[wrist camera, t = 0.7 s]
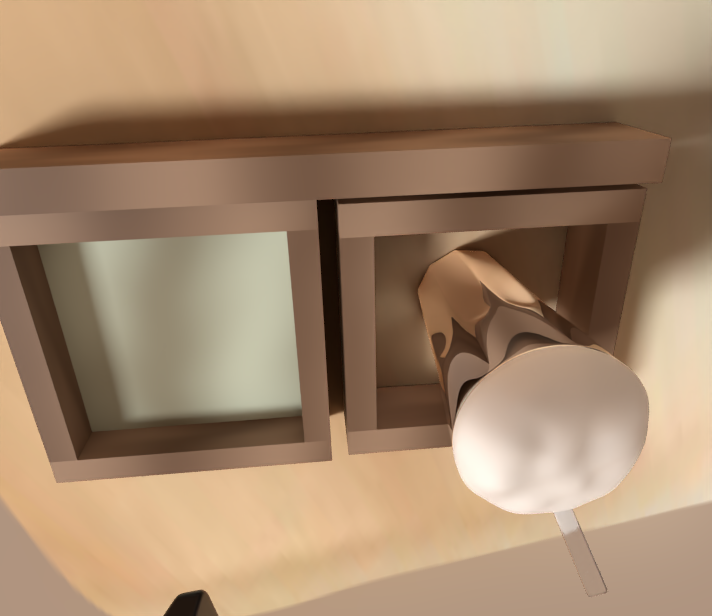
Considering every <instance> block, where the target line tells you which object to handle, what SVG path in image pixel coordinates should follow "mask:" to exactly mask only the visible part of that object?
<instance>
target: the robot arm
mask: <svg viewBox="0 0 712 616" xmlns="http://www.w3.org/2000/svg"><path fill="white" fill-rule="evenodd" d="M164 616H218V614H217V612H216V610H215V608H214V606H213V603H212V601H211V599H210V597H209V595H208V594H207V592H206V591H204V590H197V591H191V592H186V593H182V594H180V595H178V596H177V597H176V598H175V599H174V601H173V602H172V604H171V605H170V607H169V608H168V610H167V611H166V613H165V614H164Z"/></svg>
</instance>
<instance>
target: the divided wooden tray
mask: <svg viewBox="0 0 712 616" xmlns="http://www.w3.org/2000/svg"><path fill="white" fill-rule="evenodd" d="M671 140H672V138H669V137H665V136H662V135H658V134H655V133H652V132H648V131H645V130H642V129H638V128H635V127H631V126H628V125H625V124H621V123H618V122H607V123H584V124H561V125H538V126H514V127H491V128H468V129H445V130H422V131H398V132H375V133H352V134H329V135H306V136H282V137H259V138H236V139H213V140H190V141H166V142H143V143H120V144H97V145H74V146H50V147H27V148H4V149H0V321H1V324H2V326H3V329H4V332H5V335H6V338H7V341H8V344H9V347H10V350H11V352H12V355H13V358H14V361H15V364H16V367H17V370H18V373H19V375H20V378H21V381H22V384H23V387H24V390H25V393H26V396H27V399H28V401H29V404H30V407H31V410H32V413H33V416H34V419H35V422H36V424H37V427H38V430H39V433H40V436H41V439H42V442H43V445H44V448H45V450H46V453H47V456H48V459H49V462H50V465H51V468H52V471H53V473H54V476H55V479H56V482H57V483H63V482H75V481H87V480H99V479H112V478H124V477H136V476H149V475H161V474H173V473H185V472H198V471H210V470H222V469H235V468H247V467H259V466H272V465H284V464H296V463H308V462H321V461H332V452H331V435H330V418H329V401H328V385H327V368H326V351H325V334H324V317H323V301H322V284H321V267H320V250H319V234H318V217H317V200H325V199H334V203H335V225H336V247H337V269H338V291H339V313H340V335H341V357H342V379H343V402H344V416H345V425H346V434H347V443H348V452H349V455H352V454H365V453H377V452H389V451H402V450H414V449H427V448H439V447H451V446H452V444H451V440H450V435H449V430H448V425H447V420H446V415H445V411H444V406H443V401H442V396H441V390H440V383H438V384H424V385H411V386H397V387H383V388H376V335H375V262H374V236H392V235H410V234H428V233H446V232H464V231H482V230H500V229H518V228H536V227H554V226H568V231H567V238H566V245H565V252H564V258H563V265H562V272H561V279H560V286H559V293H558V300H557V307H556V312H557V313H558V314H560V315H561V316H562V317H564V318H565V319H567V320H568V321H569V322H571V323H572V324H573V325H575V326H576V327H577V328H578V329H580V330H581V331H582V332H584V333H585V334H586V335H587V336H589V337H590V338H591V339H592V340H594V341H595V342H596V343H598V344H599V345H600V346H601V347H603V348H604V349H605V350H606V351H608V352H609V353H610V354H612V355H613V353H614V348H615V343H616V338H617V333H618V328H619V323H620V319H621V314H622V309H623V304H624V299H625V294H626V289H627V284H628V279H629V274H630V269H631V265H632V260H633V255H634V250H635V245H636V240H637V235H638V230H639V225H640V220H641V215H642V211H643V206H644V201H645V196H646V191H647V188H645V187H642V186H640V185H638V184H640V183H660V182H662V181H663V177H664V172H665V167H666V163H667V158H668V153H669V149H670V144H671Z"/></svg>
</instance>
